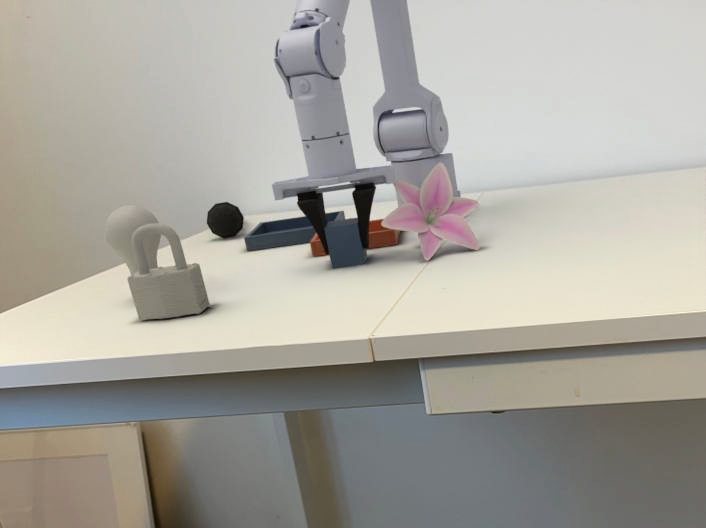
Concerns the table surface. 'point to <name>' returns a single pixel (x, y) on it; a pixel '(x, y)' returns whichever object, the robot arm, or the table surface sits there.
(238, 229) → the faceted black orb
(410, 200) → the lily
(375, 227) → the terracotta tray
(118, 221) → the lightbulb
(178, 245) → the padlock
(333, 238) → the blue block
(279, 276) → the table surface
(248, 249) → the slate tray
